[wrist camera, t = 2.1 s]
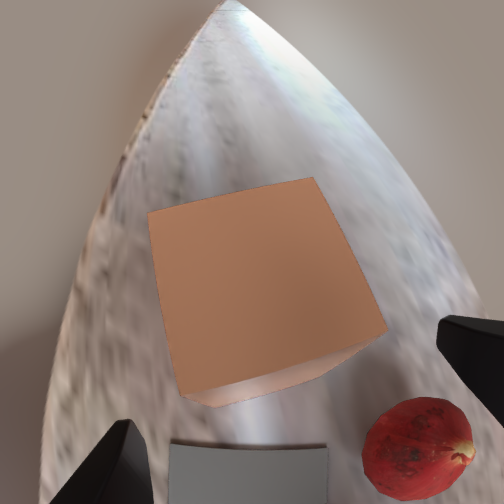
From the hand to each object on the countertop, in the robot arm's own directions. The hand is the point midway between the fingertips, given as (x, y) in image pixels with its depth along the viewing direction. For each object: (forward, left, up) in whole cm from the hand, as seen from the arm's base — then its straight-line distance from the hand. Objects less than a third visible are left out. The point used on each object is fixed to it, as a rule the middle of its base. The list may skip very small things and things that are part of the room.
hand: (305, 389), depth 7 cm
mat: (-7, +1, -11) cm, 13 cm away
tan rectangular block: (+4, +1, -11) cm, 11 cm away
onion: (-3, -7, -11) cm, 14 cm away
